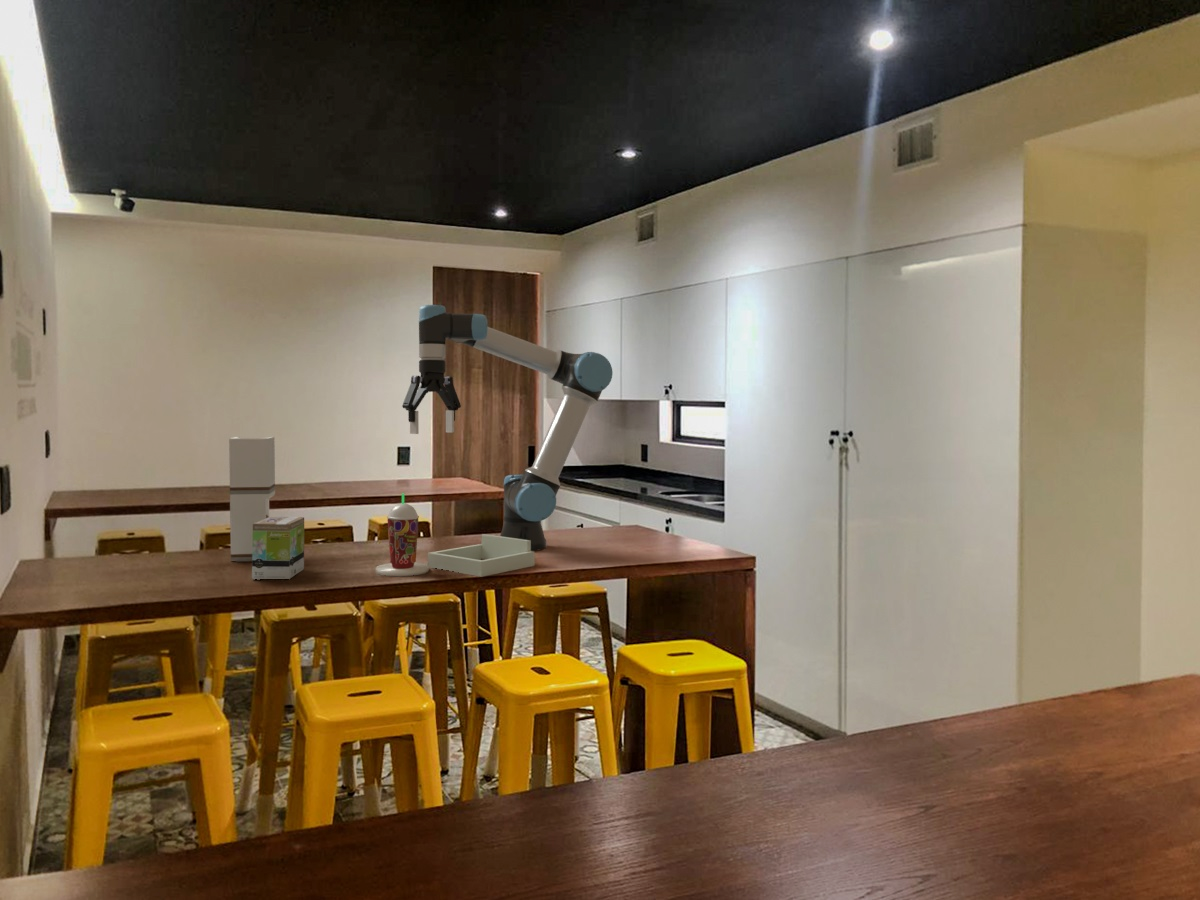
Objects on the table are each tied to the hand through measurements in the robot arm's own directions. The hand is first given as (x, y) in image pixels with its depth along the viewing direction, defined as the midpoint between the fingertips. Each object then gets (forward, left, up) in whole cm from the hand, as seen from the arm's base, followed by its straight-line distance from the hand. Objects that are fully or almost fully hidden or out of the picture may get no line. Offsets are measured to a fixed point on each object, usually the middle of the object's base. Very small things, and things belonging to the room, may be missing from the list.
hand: (432, 433), depth 268 cm
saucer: (+18, +8, -37) cm, 42 cm away
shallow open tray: (-1, +19, -37) cm, 41 cm away
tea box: (+42, -13, -37) cm, 57 cm away
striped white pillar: (+32, -41, -37) cm, 64 cm away
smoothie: (+18, +8, -36) cm, 41 cm away
